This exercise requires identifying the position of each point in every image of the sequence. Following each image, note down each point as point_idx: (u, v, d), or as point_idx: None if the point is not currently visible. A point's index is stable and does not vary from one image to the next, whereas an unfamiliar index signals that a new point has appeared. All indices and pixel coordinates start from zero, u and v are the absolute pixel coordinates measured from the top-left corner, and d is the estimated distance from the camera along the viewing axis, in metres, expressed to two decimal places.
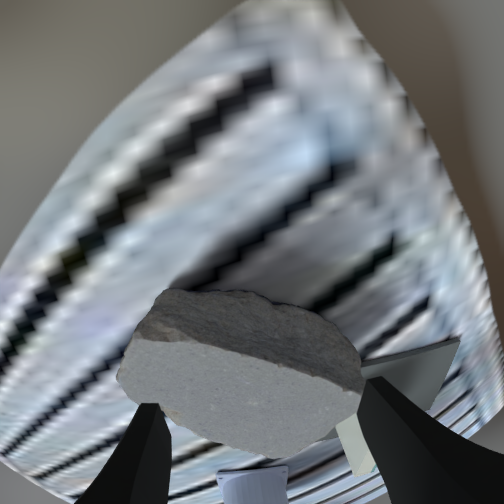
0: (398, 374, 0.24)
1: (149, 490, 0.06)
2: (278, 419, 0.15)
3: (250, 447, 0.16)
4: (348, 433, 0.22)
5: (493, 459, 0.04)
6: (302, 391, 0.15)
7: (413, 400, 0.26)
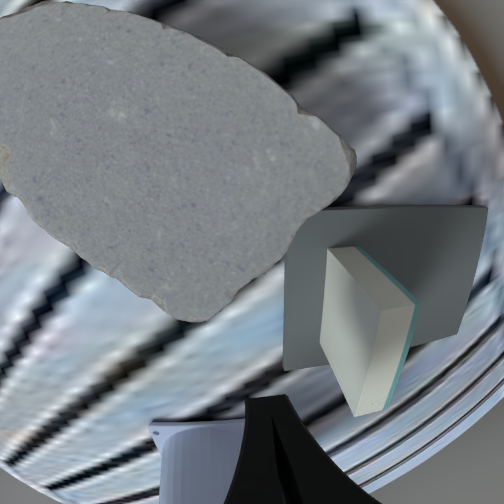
0: (409, 242, 0.16)
1: None
2: (167, 169, 0.08)
3: (123, 266, 0.09)
4: (338, 332, 0.15)
5: None
6: (210, 89, 0.07)
7: (435, 307, 0.18)
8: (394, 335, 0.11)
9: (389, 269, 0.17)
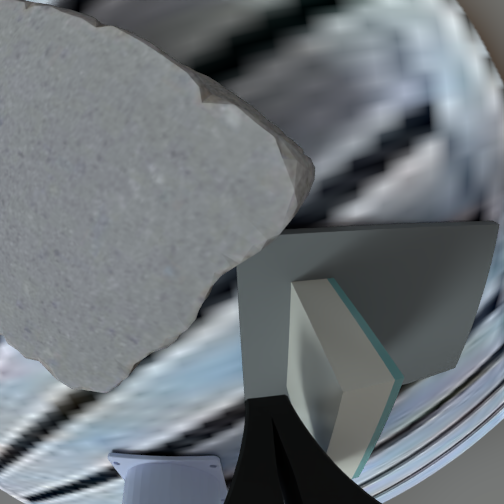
0: (400, 270, 0.13)
1: None
2: (22, 203, 0.05)
3: (0, 322, 0.05)
4: (301, 387, 0.11)
5: None
6: (69, 80, 0.04)
7: (430, 343, 0.15)
8: (363, 415, 0.07)
9: (373, 304, 0.13)
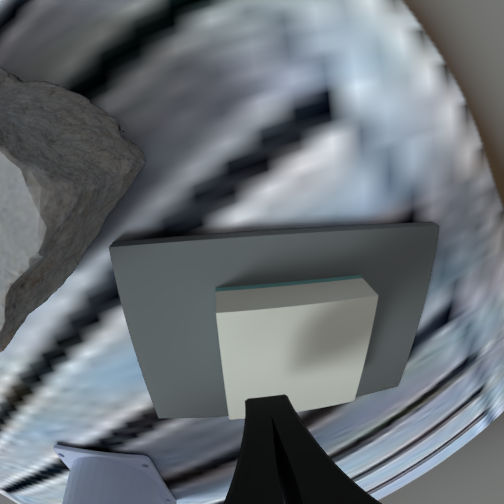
0: None
1: None
2: None
3: None
4: (287, 376, 0.12)
5: None
6: None
7: None
8: None
9: None
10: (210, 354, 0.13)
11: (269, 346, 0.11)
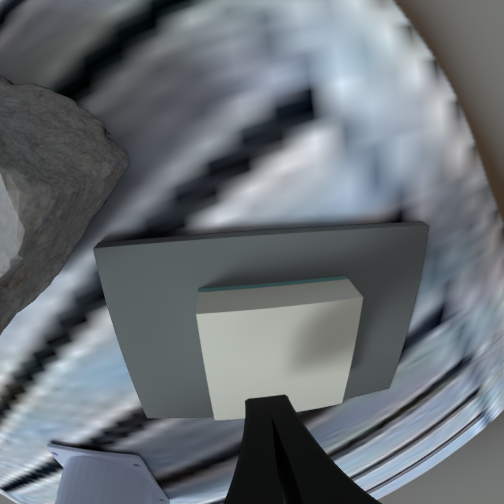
0: None
1: None
2: None
3: None
4: (271, 378, 0.12)
5: None
6: None
7: None
8: None
9: None
10: (195, 355, 0.13)
11: (251, 348, 0.11)
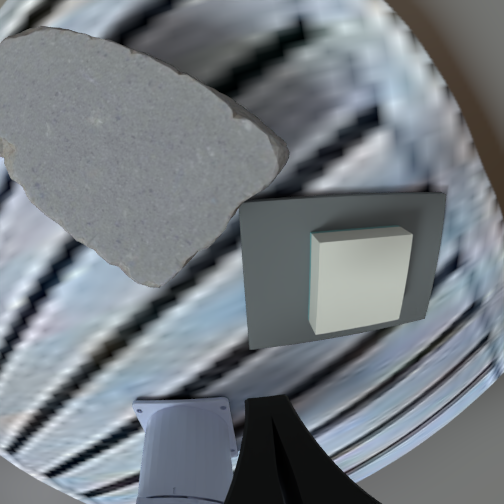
0: (360, 227, 0.18)
1: None
2: (131, 163, 0.10)
3: (97, 238, 0.11)
4: (358, 293, 0.18)
5: None
6: (164, 100, 0.09)
7: None
8: None
9: None
10: (300, 284, 0.19)
11: (349, 268, 0.17)
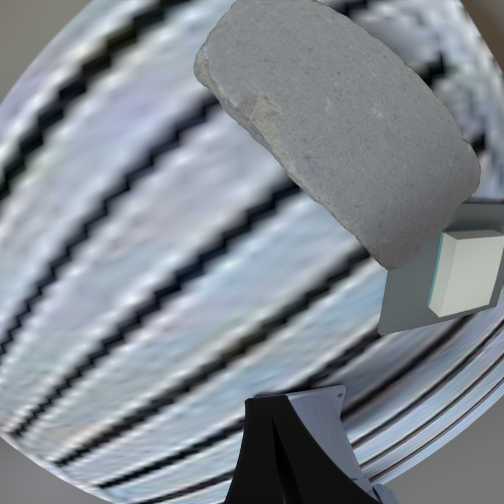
0: (470, 229, 0.19)
1: None
2: (402, 159, 0.11)
3: (362, 221, 0.12)
4: (470, 281, 0.19)
5: None
6: (427, 114, 0.11)
7: None
8: None
9: None
10: (428, 275, 0.20)
11: (469, 261, 0.18)
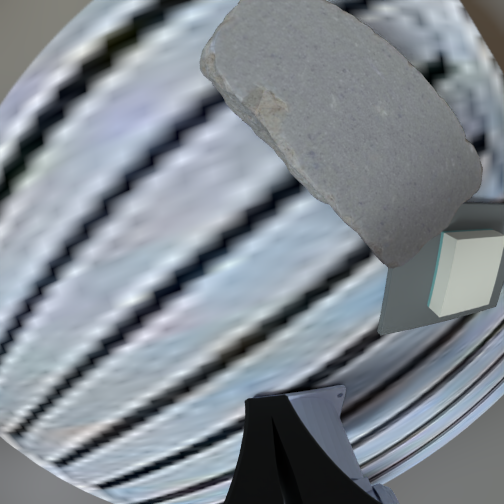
0: (470, 229, 0.19)
1: None
2: (405, 157, 0.11)
3: (364, 218, 0.12)
4: (470, 281, 0.19)
5: None
6: (431, 114, 0.11)
7: None
8: None
9: None
10: (428, 275, 0.20)
11: (469, 261, 0.18)
